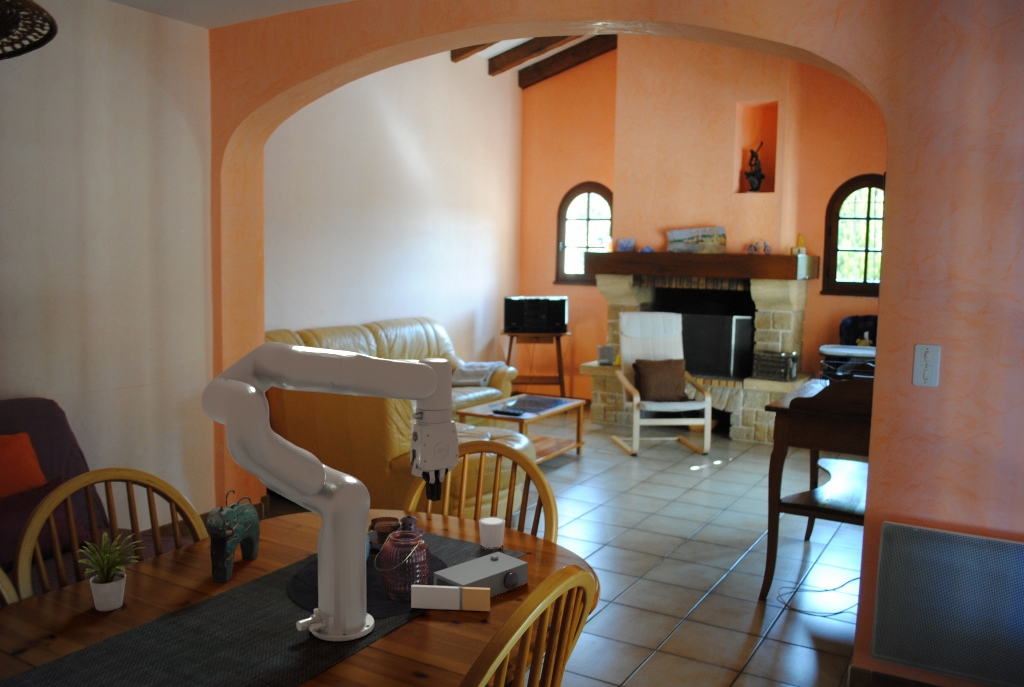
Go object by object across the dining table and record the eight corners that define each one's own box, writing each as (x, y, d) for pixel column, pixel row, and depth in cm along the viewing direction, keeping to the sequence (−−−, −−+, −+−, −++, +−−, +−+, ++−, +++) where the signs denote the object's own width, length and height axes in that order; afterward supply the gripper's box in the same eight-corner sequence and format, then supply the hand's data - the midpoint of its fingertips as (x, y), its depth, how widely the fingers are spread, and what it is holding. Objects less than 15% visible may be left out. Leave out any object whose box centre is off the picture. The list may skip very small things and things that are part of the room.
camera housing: (465, 609, 182) (465, 584, 181) (432, 594, 190) (432, 570, 189) (531, 585, 196) (531, 561, 195) (498, 571, 204) (498, 549, 203)
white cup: (504, 551, 218) (504, 524, 217) (477, 550, 218) (477, 524, 217) (505, 542, 224) (505, 516, 224) (479, 541, 225) (479, 515, 224)
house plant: (114, 626, 172) (111, 547, 171) (54, 619, 175) (51, 542, 173) (157, 598, 186) (154, 525, 185) (101, 592, 189) (98, 521, 187)
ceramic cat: (226, 586, 193) (224, 500, 191) (200, 584, 194) (197, 498, 192) (265, 555, 213) (263, 477, 211) (241, 554, 214) (239, 476, 212)
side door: (489, 611, 180) (489, 589, 180) (411, 607, 182) (411, 586, 181) (490, 609, 182) (490, 587, 181) (412, 605, 183) (412, 584, 182)
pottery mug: (360, 550, 219) (360, 518, 222) (379, 555, 227) (379, 524, 230) (401, 544, 215) (401, 511, 218) (419, 549, 223) (419, 518, 226)
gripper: (414, 422, 175) (414, 509, 177) (472, 414, 185) (471, 497, 186) (394, 417, 181) (394, 501, 183) (451, 409, 190) (451, 490, 192)
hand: (433, 499), depth 184 cm, fingers closed
